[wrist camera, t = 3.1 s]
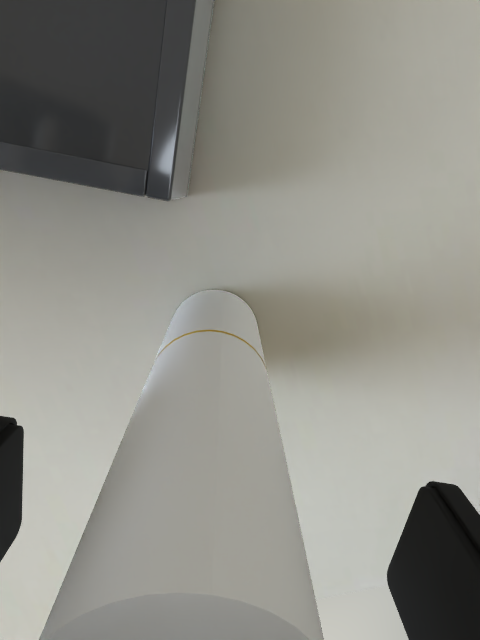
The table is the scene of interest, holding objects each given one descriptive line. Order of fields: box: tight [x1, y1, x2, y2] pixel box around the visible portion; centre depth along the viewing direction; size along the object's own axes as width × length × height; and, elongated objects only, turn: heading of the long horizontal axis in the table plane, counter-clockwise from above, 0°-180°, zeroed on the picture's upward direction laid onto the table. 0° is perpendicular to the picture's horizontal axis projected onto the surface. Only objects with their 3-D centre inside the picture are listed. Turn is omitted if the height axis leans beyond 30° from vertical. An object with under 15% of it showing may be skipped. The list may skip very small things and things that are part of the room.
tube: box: [39, 290, 324, 640], centre depth 13 cm, size 4×4×15 cm
